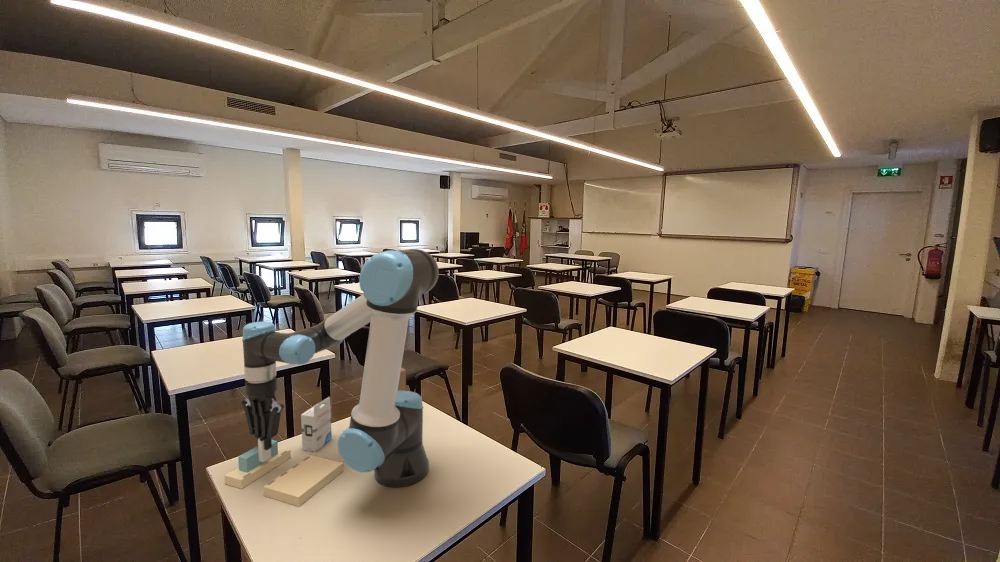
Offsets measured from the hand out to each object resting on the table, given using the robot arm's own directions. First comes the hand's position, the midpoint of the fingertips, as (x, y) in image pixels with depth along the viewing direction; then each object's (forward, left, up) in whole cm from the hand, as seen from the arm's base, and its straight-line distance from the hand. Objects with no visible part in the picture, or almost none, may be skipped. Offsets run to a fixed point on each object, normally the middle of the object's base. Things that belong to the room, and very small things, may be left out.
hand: (264, 459), depth 115 cm
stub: (+2, 0, -4) cm, 4 cm away
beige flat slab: (-14, 0, -4) cm, 15 cm away
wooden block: (-14, -38, -4) cm, 41 cm away
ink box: (-2, -17, -4) cm, 18 cm away
